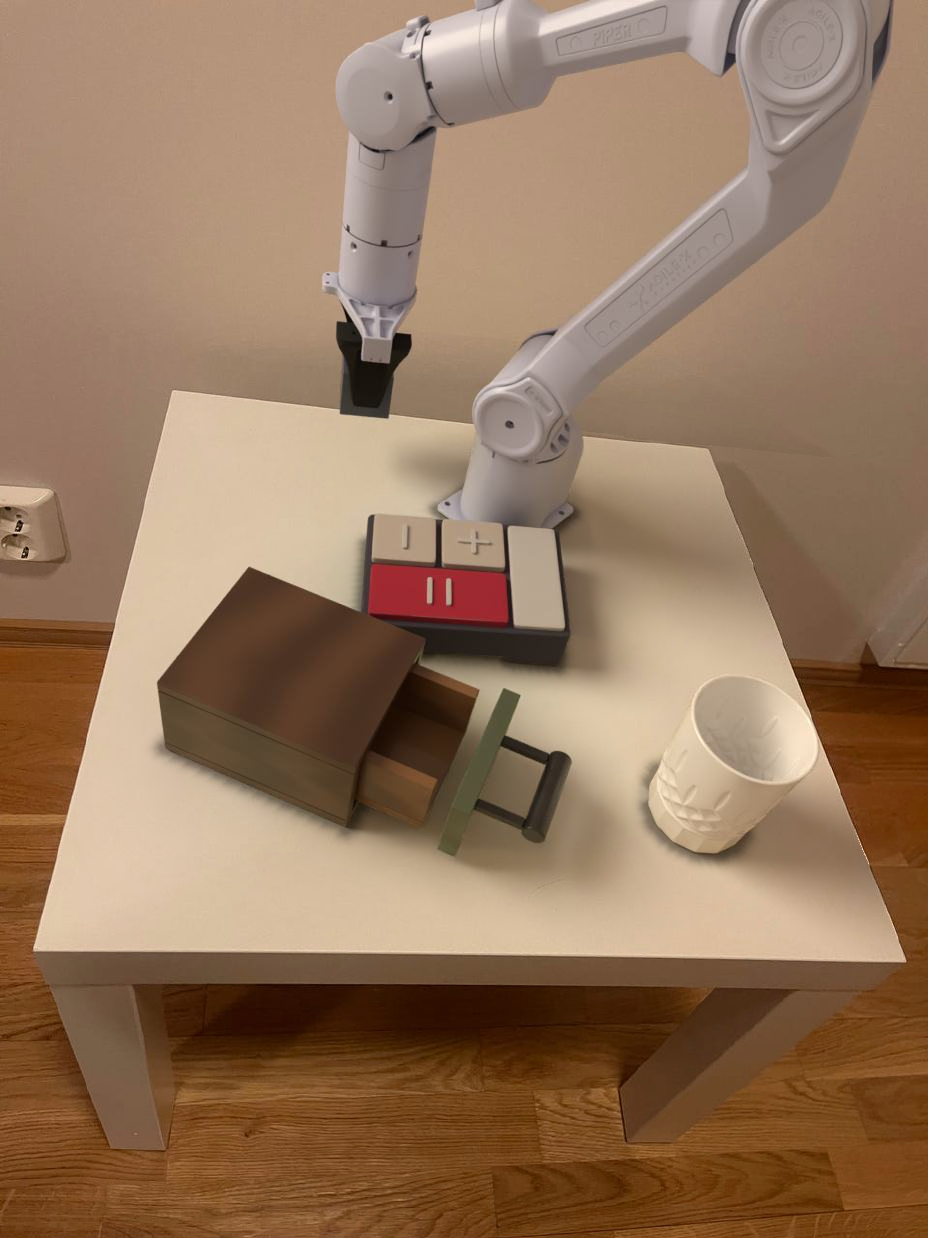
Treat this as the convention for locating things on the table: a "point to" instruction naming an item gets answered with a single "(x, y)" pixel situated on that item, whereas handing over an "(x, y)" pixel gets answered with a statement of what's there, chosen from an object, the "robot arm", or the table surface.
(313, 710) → the cabinet
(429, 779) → the drawer
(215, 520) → the table surface
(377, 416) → the block
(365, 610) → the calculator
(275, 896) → the table surface
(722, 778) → the white cup
